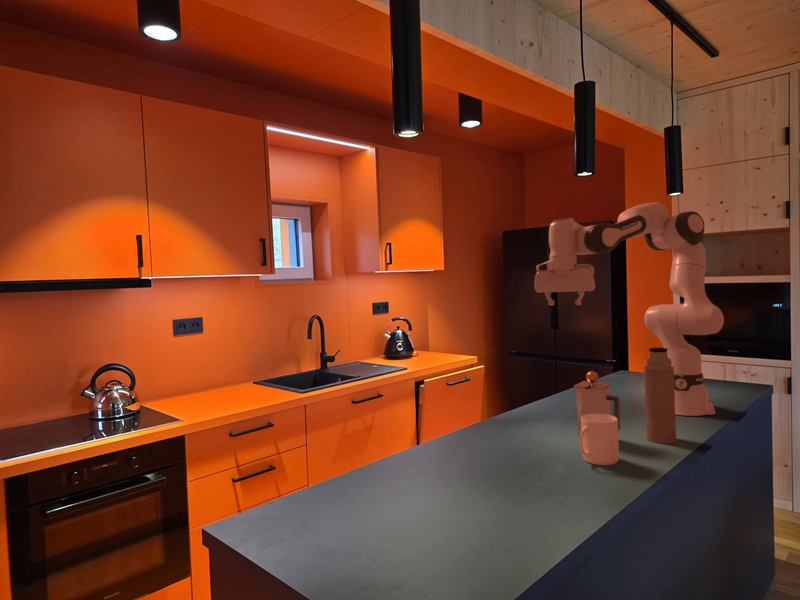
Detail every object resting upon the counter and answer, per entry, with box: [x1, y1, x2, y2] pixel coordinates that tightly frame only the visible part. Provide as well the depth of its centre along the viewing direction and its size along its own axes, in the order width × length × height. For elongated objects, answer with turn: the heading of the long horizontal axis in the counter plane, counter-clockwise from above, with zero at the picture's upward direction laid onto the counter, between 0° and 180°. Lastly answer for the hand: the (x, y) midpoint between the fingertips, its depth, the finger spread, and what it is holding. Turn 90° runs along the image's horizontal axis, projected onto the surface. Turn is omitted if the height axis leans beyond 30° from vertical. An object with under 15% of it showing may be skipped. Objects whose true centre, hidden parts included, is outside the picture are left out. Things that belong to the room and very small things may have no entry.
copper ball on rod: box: [585, 370, 599, 387], centre depth 159 cm, size 7×7×18 cm
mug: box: [579, 414, 620, 466], centre depth 141 cm, size 10×12×12 cm
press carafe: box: [573, 380, 621, 440], centre depth 159 cm, size 9×12×17 cm
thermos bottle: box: [644, 347, 677, 445], centre depth 156 cm, size 8×8×28 cm
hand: (564, 305), depth 177 cm, fingers open, 8 cm apart
